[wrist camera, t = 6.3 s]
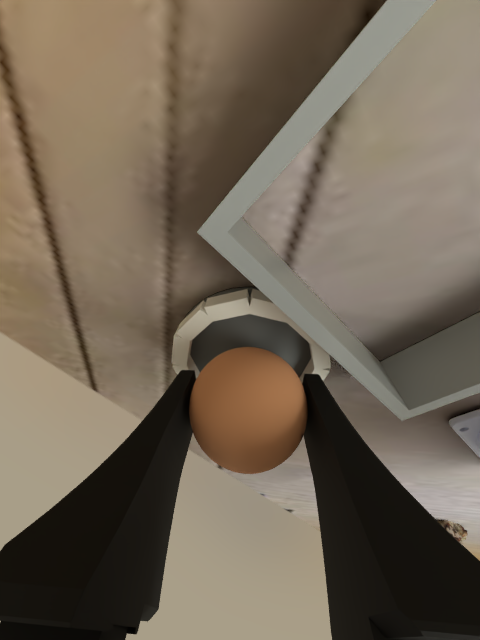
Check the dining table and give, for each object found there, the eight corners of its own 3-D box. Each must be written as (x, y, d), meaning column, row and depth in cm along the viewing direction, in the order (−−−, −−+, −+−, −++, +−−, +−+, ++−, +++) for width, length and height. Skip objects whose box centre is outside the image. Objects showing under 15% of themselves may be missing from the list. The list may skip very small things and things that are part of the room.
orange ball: (318, 365, 12) (350, 474, 8) (248, 403, 14) (245, 503, 10) (250, 305, 10) (246, 406, 6) (183, 360, 12) (145, 461, 8)
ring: (353, 353, 13) (362, 370, 12) (249, 410, 16) (249, 427, 15) (250, 251, 10) (249, 262, 9) (151, 348, 13) (143, 364, 12)
